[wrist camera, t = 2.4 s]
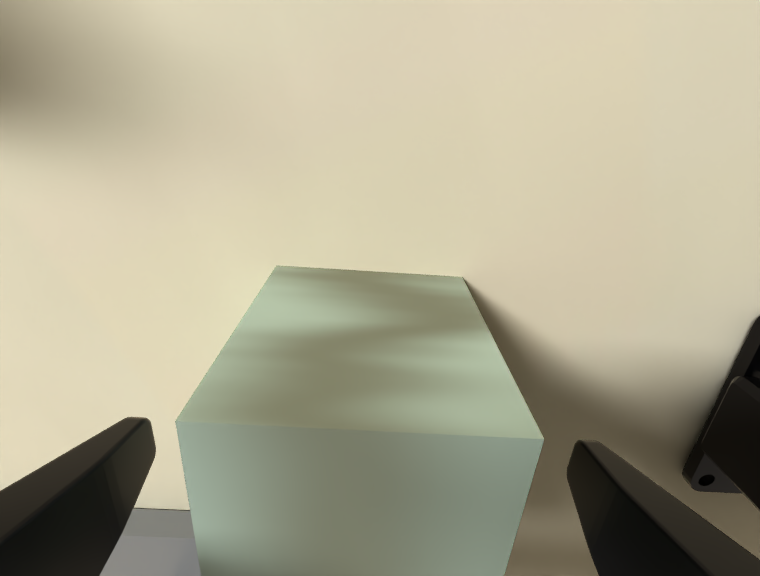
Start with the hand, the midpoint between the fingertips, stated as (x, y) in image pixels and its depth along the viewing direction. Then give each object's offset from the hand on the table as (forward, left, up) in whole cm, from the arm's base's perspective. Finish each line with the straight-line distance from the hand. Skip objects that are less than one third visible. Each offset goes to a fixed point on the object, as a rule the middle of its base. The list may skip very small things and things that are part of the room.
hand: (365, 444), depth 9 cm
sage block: (0, 0, -4) cm, 4 cm away
